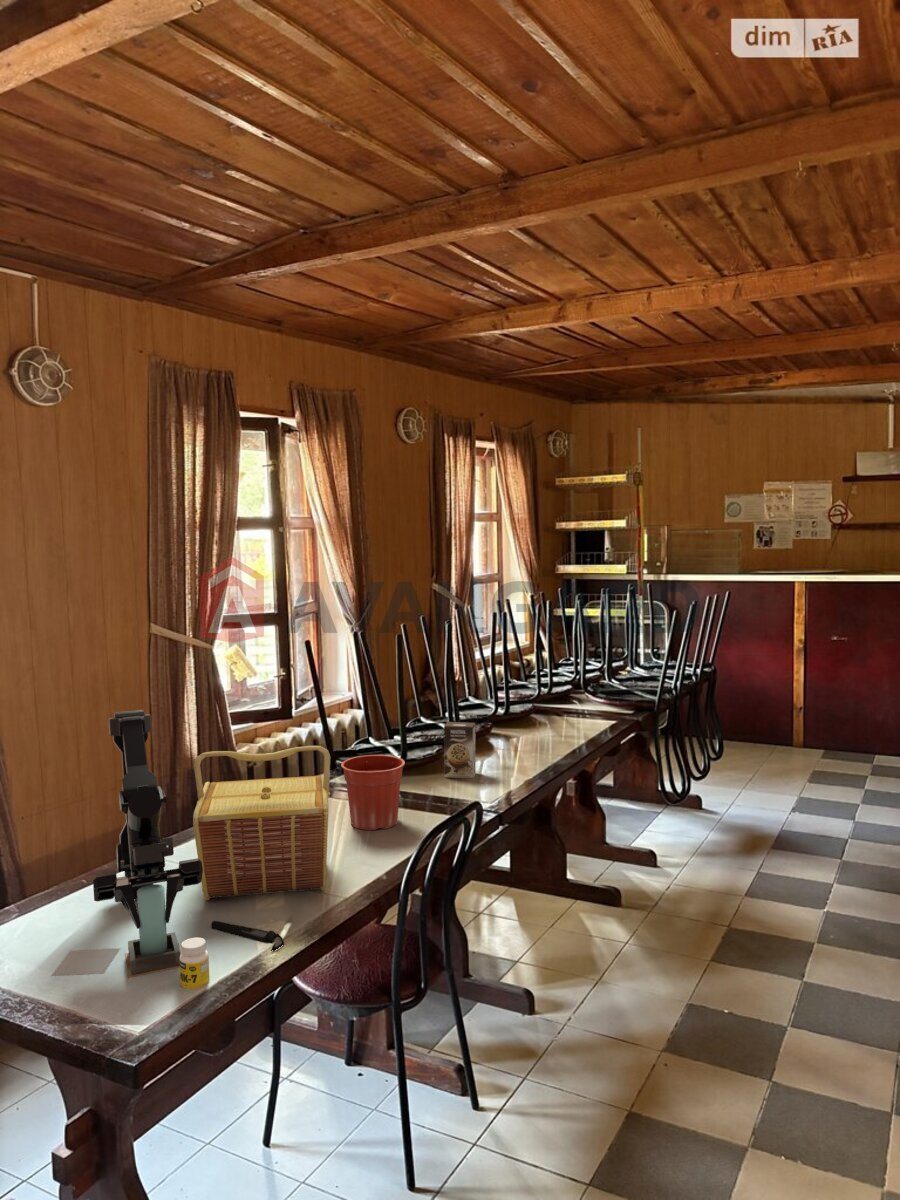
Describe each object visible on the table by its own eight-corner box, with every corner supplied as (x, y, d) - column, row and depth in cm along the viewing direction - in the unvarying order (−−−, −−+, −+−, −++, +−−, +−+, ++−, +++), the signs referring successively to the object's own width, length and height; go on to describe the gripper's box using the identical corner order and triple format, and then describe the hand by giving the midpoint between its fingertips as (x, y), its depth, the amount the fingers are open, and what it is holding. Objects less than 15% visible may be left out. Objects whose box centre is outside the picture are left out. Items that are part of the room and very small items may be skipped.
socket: (125, 961, 161) (124, 940, 161) (179, 950, 165) (178, 930, 164) (128, 986, 152) (127, 964, 152) (185, 974, 156) (183, 952, 156)
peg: (147, 953, 161) (143, 884, 160) (171, 953, 161) (168, 884, 159) (136, 966, 156) (132, 895, 155) (161, 966, 156) (158, 895, 155)
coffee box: (444, 777, 271) (442, 726, 270) (447, 771, 277) (446, 721, 276) (473, 778, 269) (472, 726, 268) (476, 772, 276) (475, 721, 274)
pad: (70, 958, 163) (70, 950, 163) (120, 956, 163) (120, 948, 163) (51, 983, 154) (51, 975, 154) (104, 981, 154) (103, 973, 154)
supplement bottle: (174, 994, 150) (172, 946, 149) (192, 980, 154) (190, 934, 153) (198, 999, 148) (196, 951, 147) (215, 985, 152) (213, 938, 151)
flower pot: (397, 809, 242) (395, 751, 241) (413, 829, 227) (412, 767, 225) (337, 816, 237) (335, 758, 236) (350, 837, 222) (348, 774, 220)
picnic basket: (191, 913, 181) (184, 769, 178) (206, 864, 206) (200, 738, 203) (336, 900, 185) (331, 760, 182) (332, 854, 211) (328, 731, 208)
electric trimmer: (220, 931, 173) (219, 915, 173) (285, 945, 167) (284, 929, 166) (207, 940, 170) (206, 924, 170) (273, 954, 163) (272, 937, 163)
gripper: (90, 831, 156) (95, 917, 147) (199, 815, 163) (210, 896, 154) (91, 859, 164) (96, 942, 155) (195, 843, 171) (206, 921, 162)
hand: (153, 925), depth 157 cm, fingers closed on peg, 5 cm apart
